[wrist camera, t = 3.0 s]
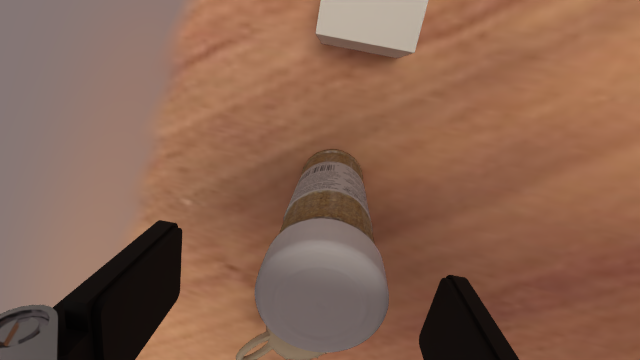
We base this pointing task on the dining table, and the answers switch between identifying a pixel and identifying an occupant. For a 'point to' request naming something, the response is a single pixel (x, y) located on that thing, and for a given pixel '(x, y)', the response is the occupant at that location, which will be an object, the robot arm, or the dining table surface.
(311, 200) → the sprinkles bottle
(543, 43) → the dining table surface
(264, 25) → the dining table surface
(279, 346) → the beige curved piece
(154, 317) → the robot arm
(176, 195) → the dining table surface
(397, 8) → the off-white block
